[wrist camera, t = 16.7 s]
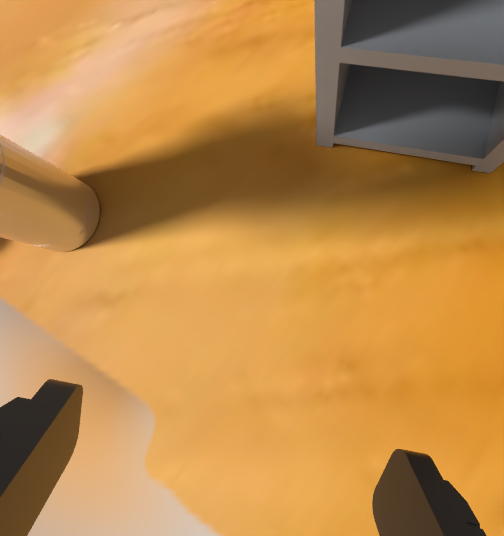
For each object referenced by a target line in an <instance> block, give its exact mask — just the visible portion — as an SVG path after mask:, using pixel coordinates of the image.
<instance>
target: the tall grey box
mask: <svg viewBox="0 0 504 536" xmlns="http://www.w3.org/2000/svg"><path fill="white" fill-rule="evenodd" d="M315 72H316V145H317V146H324V147H330V148H333V144H334V143H336V144H342V145H349V146H355V147H361V148H367V149H374V150H380V151H386V152H393V153H399V154H405V155H412V156H418V157H424V158H431V159H437V160H443V161H449V162H456V163H462V164H468V165H473V166H472V171H479V172H485V173H492V172H493V171H494V170H495V169H496V168H498V167H499V166H500V165H501V164H502V163H504V0H315Z"/></svg>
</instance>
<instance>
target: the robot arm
mask: <svg viewBox="0 0 504 536" xmlns="http://www.w3.org/2000/svg"><path fill="white" fill-rule="evenodd" d="M99 216H100V206H99V202H98V198H97V196H96V194H95V192H94V191H93V190H92V189H91V187H89V186H88V185H87V184H86V183H84V182H82V181H80V180H79V179H77V178H75V177H73V176H72V175H70V174H68V173H66V172H65V171H63V170H61V169H60V168H58V167H56V166H54V165H53V164H51V163H49V162H47V161H46V160H44V159H42V158H40V157H39V156H37V155H35V154H33V153H32V152H30V151H28V150H26V149H25V148H23V147H21V146H19V145H17V144H16V143H14V142H12V141H10V140H9V139H7V138H5V137H3V136H2V135H0V237H1V238H5V239H9V240H13V241H17V242H21V243H25V244H29V245H33V246H37V247H41V248H45V249H49V250H54V251H58V252H66V251H71V250H74V249H76V248H79V247H80V246H82V245H83V244H84V243H86V242H87V241H88V239H89V238H90V237H91V236H92V234H93V233H94V231H95V229H96V227H97V224H98V221H99ZM82 395H83V387H82V385H78V384H72V383H68V382H63V381H57V380H52V379H49V380H48V381H46V382H45V383H44V385H43V386H42V387H41V388H40V389H39V391H38V392H37V393H36V394H35V395H34V397H33V398H32V399H31V400H30V399H26V398H20V397H17V398H15V399H14V400H12V401H10V402H8V403H7V404H5V405H3V406H2V407H0V536H27V535H28V533H29V531H30V529H31V528H32V526H33V524H34V522H35V521H36V519H37V517H38V515H39V514H40V512H41V510H42V508H43V506H44V505H45V503H46V501H47V499H48V498H49V496H50V494H51V492H52V490H53V489H54V487H55V485H56V483H57V481H58V480H59V478H60V476H61V474H62V473H63V471H64V469H65V467H66V466H67V464H68V462H69V460H70V458H71V456H72V454H73V451H74V448H75V445H76V442H77V439H78V433H79V424H80V414H81V404H82ZM373 515H374V519H375V522H376V525H377V529H378V532H379V535H380V536H486V534H485V532H484V531H483V529H480V524H479V522H478V520H477V519H476V517H475V515H474V513H473V512H472V510H471V508H470V506H469V505H468V503H467V501H466V500H465V499H464V498H463V497H462V496H461V495H460V494H459V492H458V491H457V490H456V489H455V488H454V487H453V486H452V485H451V484H450V483H449V481H446V480H443V478H442V476H441V475H440V473H439V471H438V469H437V467H436V465H435V464H434V462H433V460H432V459H431V457H430V456H428V455H427V454H423V453H418V452H412V451H407V450H402V449H396V450H395V451H394V452H393V453H392V455H391V457H390V459H389V461H388V463H387V465H386V468H385V470H384V472H383V474H382V476H381V478H380V480H379V482H378V484H377V486H376V488H375V491H374V494H373Z"/></svg>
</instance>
